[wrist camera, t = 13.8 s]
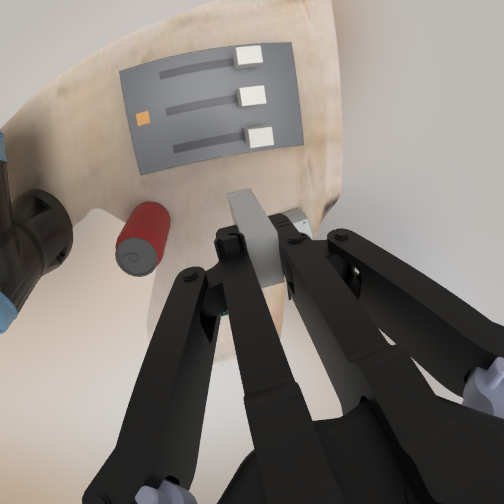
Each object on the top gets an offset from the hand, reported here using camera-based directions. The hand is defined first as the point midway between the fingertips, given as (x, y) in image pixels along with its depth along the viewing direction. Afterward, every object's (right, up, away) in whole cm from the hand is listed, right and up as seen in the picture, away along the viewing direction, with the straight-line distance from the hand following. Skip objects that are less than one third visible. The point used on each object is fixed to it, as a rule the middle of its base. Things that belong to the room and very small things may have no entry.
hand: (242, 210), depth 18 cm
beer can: (-16, +2, +24) cm, 29 cm away
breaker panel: (-5, +19, +17) cm, 25 cm away
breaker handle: (0, +18, +15) cm, 23 cm away
